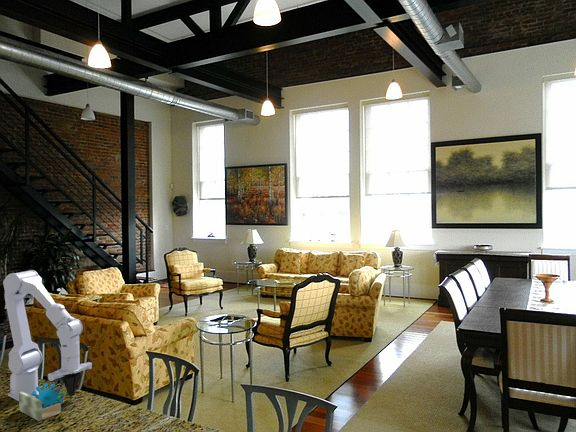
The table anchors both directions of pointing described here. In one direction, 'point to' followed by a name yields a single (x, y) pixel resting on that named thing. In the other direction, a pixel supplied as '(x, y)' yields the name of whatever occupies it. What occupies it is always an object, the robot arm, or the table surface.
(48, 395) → the gear
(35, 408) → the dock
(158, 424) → the table surface
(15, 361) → the robot arm
